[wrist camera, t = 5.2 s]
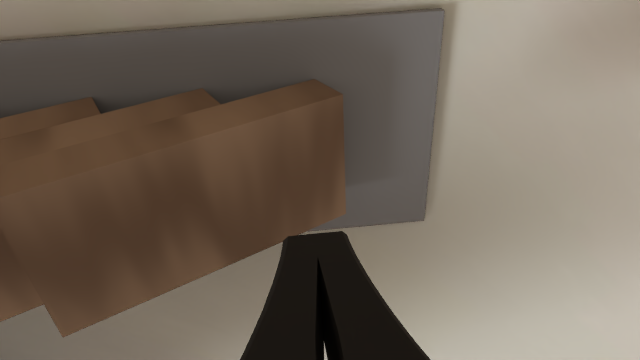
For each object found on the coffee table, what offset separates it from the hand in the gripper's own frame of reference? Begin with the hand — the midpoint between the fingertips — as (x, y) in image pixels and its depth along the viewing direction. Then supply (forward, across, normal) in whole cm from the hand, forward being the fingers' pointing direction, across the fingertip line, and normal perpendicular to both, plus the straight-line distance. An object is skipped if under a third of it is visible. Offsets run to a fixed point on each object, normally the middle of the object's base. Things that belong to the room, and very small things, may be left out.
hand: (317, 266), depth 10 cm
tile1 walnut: (+5, -1, 0) cm, 5 cm away
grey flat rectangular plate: (+6, +5, 0) cm, 8 cm away
